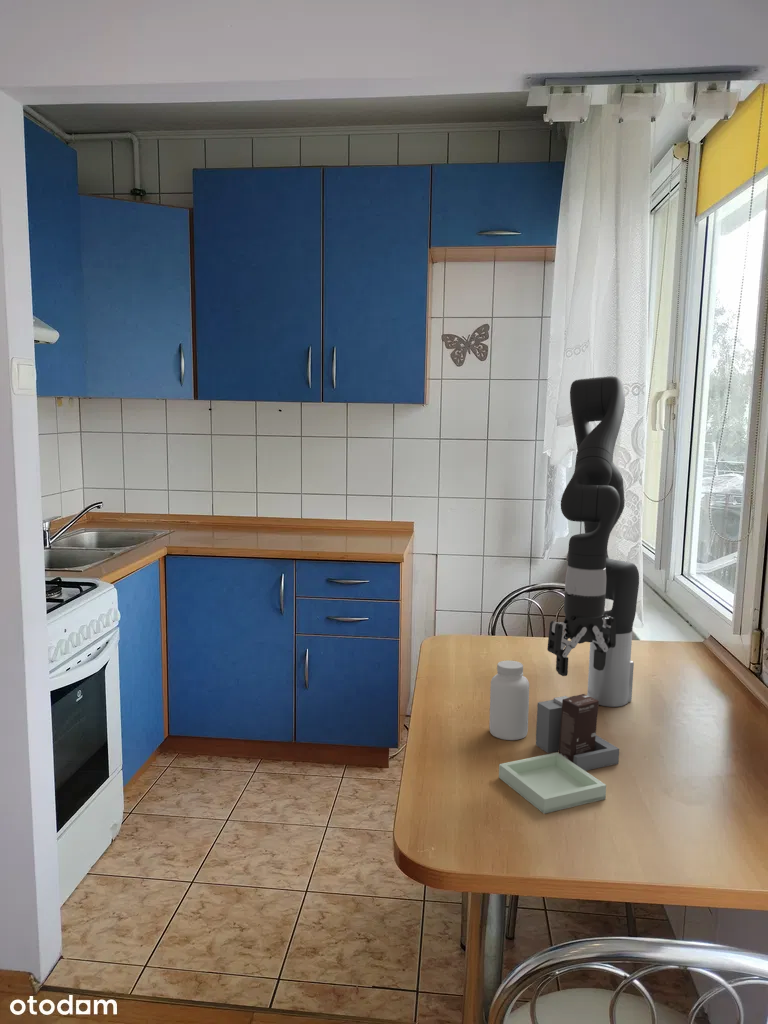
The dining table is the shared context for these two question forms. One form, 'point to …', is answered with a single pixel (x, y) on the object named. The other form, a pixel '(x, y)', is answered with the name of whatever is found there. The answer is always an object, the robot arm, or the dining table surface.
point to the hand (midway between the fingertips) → (580, 672)
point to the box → (578, 726)
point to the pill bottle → (509, 702)
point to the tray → (552, 782)
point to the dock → (550, 737)
